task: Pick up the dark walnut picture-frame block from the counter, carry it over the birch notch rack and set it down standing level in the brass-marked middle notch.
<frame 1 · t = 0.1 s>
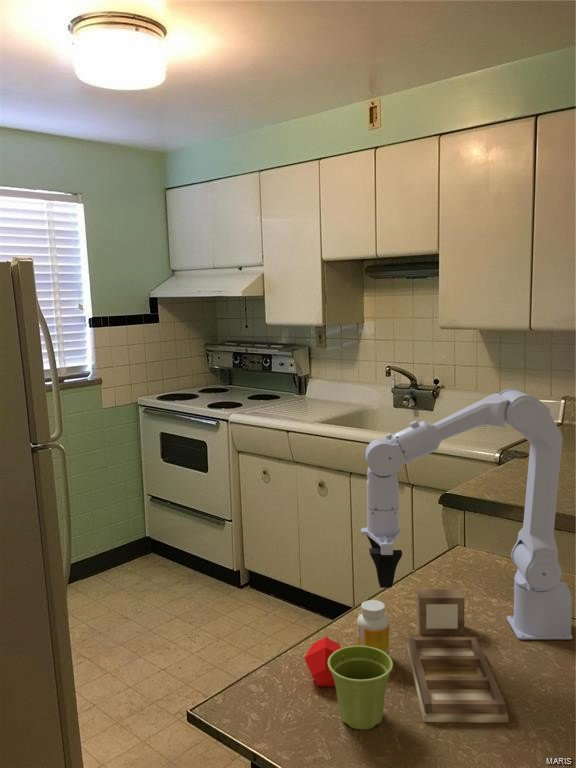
hand: (383, 577, 121), 10 cm above the countertop, tool pointing down, fingers open, 7 cm apart
frame block: (440, 629, 122), on the countertop
notch rack: (452, 682, 105), on the countertop
plant pot: (360, 718, 97), on the countertop
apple: (326, 679, 107), on the countertop
supplement bottle: (373, 659, 113), on the countertop
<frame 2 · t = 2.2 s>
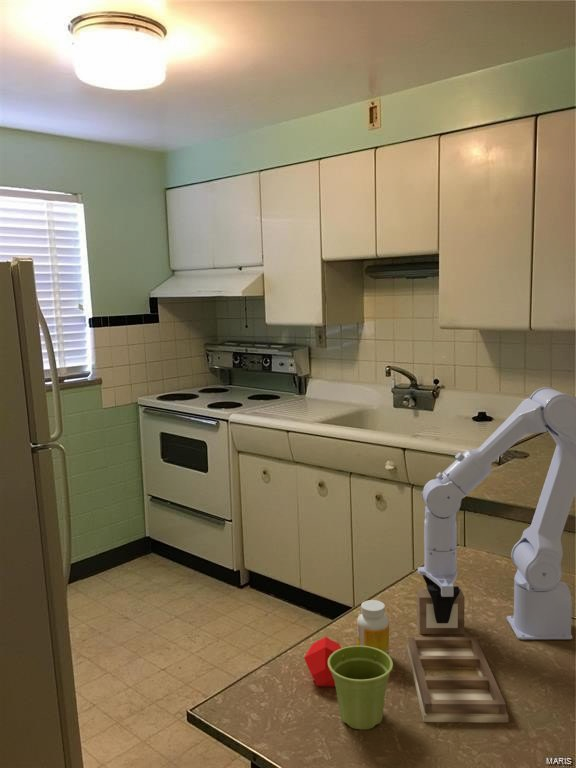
hand: (440, 616, 121), 2 cm above the countertop, tool pointing down, fingers closed on frame block, 3 cm apart
frame block: (440, 629, 122), on the countertop, touching gripper
everything else where it was.
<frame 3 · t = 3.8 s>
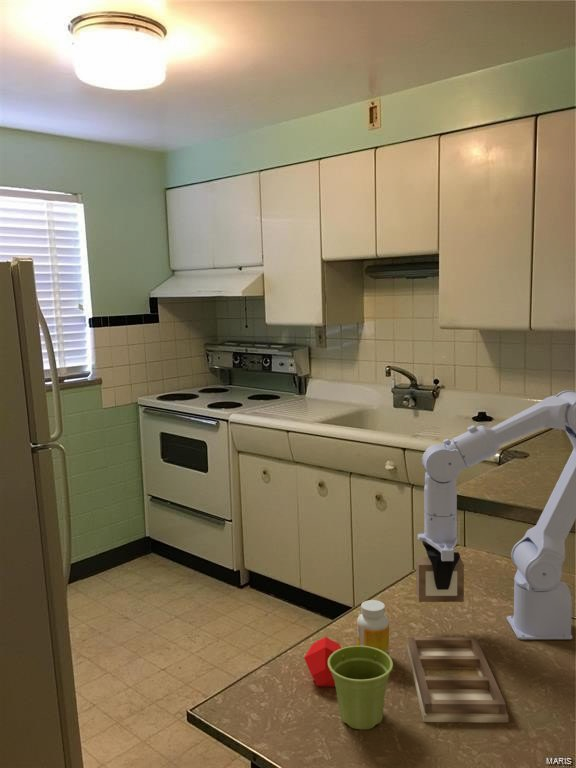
hand: (440, 583, 121), 9 cm above the countertop, tool pointing down, fingers closed on frame block, 3 cm apart
frame block: (439, 597, 121), point 6 cm above the countertop, touching gripper
everything else where it was.
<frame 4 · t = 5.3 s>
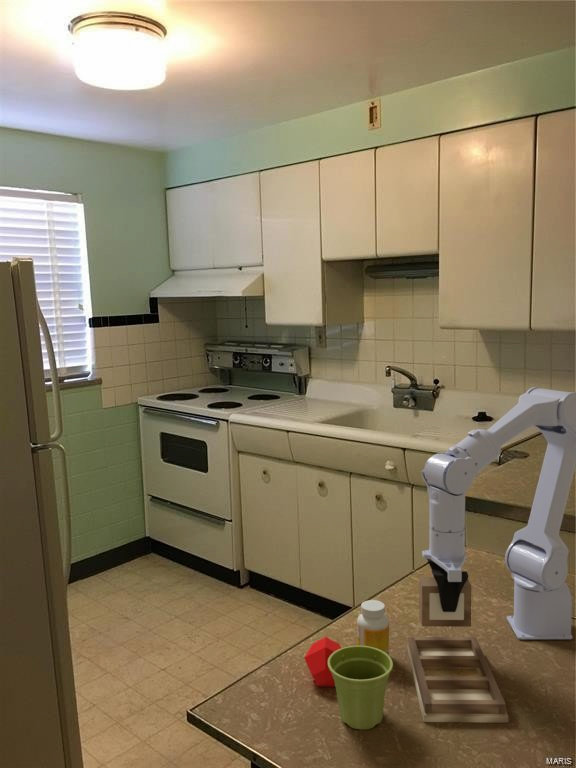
hand: (446, 605, 111), 9 cm above the countertop, tool pointing down, fingers closed on frame block, 3 cm apart
frame block: (444, 621, 111), point 7 cm above the countertop, touching gripper
everything else where it was.
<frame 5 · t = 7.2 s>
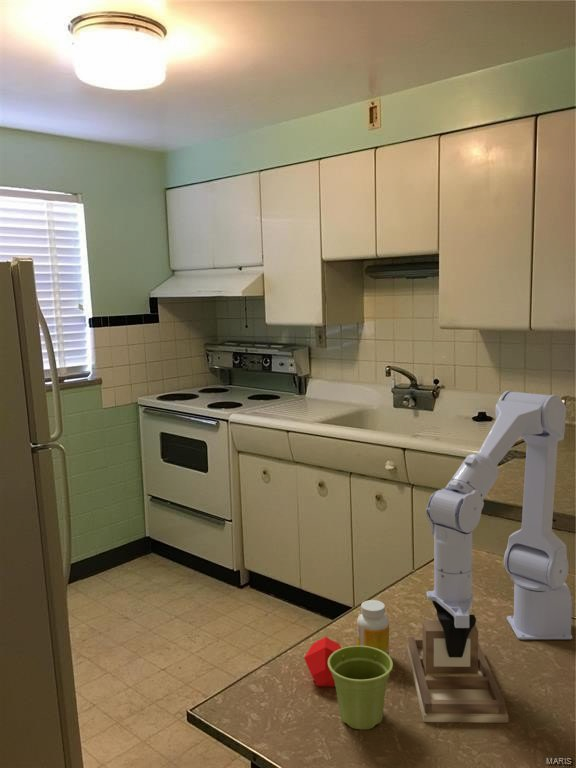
hand: (452, 649, 104), 6 cm above the countertop, tool pointing down, fingers closed on frame block, 3 cm apart
frame block: (449, 667, 105), point 3 cm above the countertop, touching gripper
everything else where it was.
when the fingers open (4 cm above the countertop, at t = 8.6 s): frame block stays where it is, resting on notch rack.
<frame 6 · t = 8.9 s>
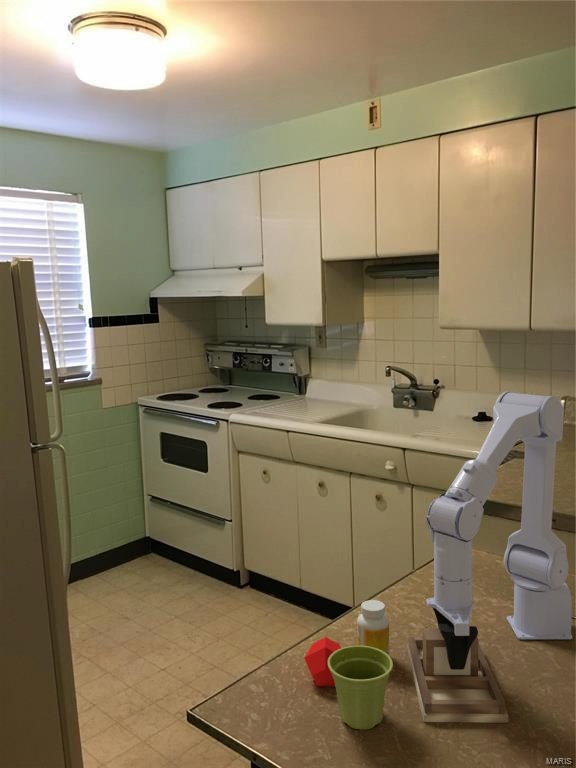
hand: (452, 656, 104), 4 cm above the countertop, tool pointing down, fingers open, 6 cm apart
frame block: (449, 675, 105), point 1 cm above the countertop, touching notch rack
everything else where it was.
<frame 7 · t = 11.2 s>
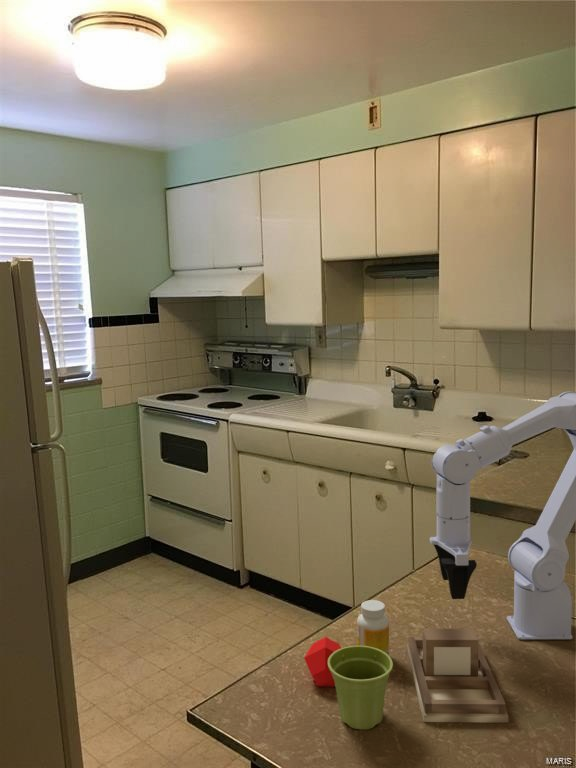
hand: (453, 588, 117), 9 cm above the countertop, tool pointing down, fingers open, 7 cm apart
nothing on the countertop moved.
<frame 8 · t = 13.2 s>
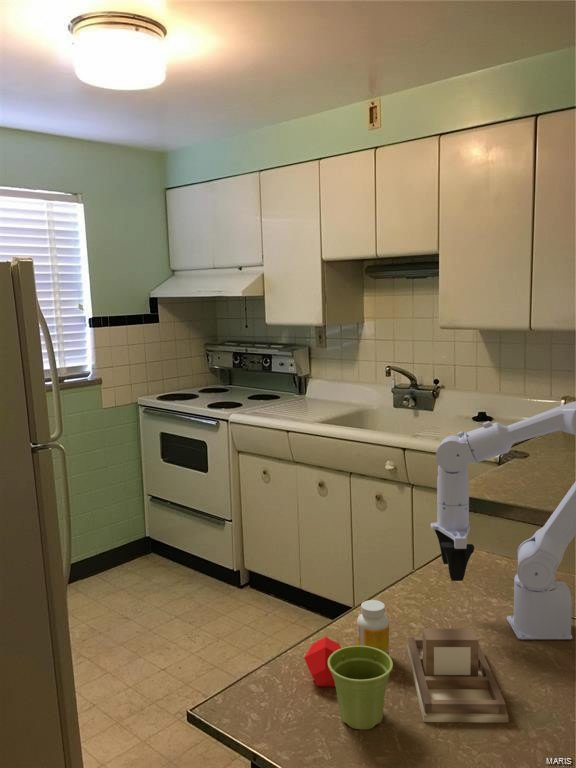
hand: (452, 571, 124), 9 cm above the countertop, tool pointing down, fingers open, 7 cm apart
nothing on the countertop moved.
at the end: frame block 0.4 cm off-centre on the notch rack, point 1.1 cm above the notch rack's base; frame block tilted 0°; the gripper is holding nothing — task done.
